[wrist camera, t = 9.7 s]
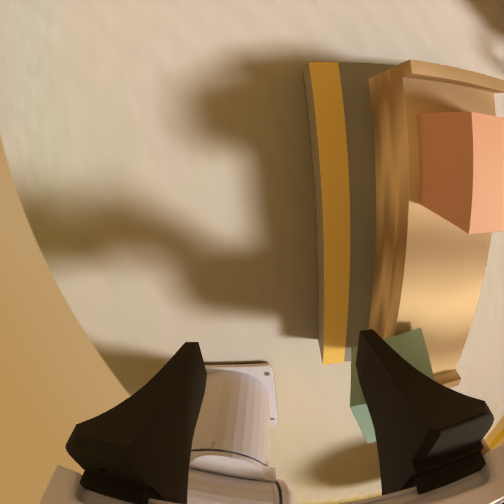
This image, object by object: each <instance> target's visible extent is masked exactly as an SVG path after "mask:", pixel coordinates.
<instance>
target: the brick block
mask: <svg viewBox="0 0 504 504" xmlns="http://www.w3.org/2000/svg"><path fill="white" fill-rule="evenodd" d="M417 119H418V134H419V157H420V199H419V204H420V205H422V206H424V207H425V208H427V209H429V210H431V211H432V212H434V213H436V214H437V215H439V216H441V217H442V218H444V219H446V220H447V221H449V222H451V223H452V224H454V225H455V226H457V227H459V228H460V229H462V230H463V231H465V232H466V233H468V234H475V233H487V232H498V231H504V118H501V117H497V116H492V115H486V114H481V113H475V112H438V113H418V114H417Z"/></svg>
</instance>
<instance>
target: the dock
mask: <svg viewBox="0 0 504 504" xmlns="http://www.w3.org/2000/svg"><path fill="white" fill-rule="evenodd" d="M392 67H395V66H393V65H381V64H366V63H338V62H309V64H308V65H307V67H306V69H305V70H304V72H303V77H304V85H305V93H306V101H307V110H308V119H309V129H310V140H311V151H312V163H313V176H314V191H315V208H316V228H317V255H318V341H319V346H320V352H321V357H322V362H323V365H325V364H334V363H342V362H345V361H351V348H355V347H358V341H359V333H360V331H362V330H368V329H369V320H370V311H371V301H372V290H373V277H374V261H375V239H376V169H375V148H374V132H373V120H372V109H371V99H370V90H369V82H368V79H369V78H371V77H373V76H375V75H378V74H380V73H382V72H384V71H386V70H388V69H390V68H392Z"/></svg>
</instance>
